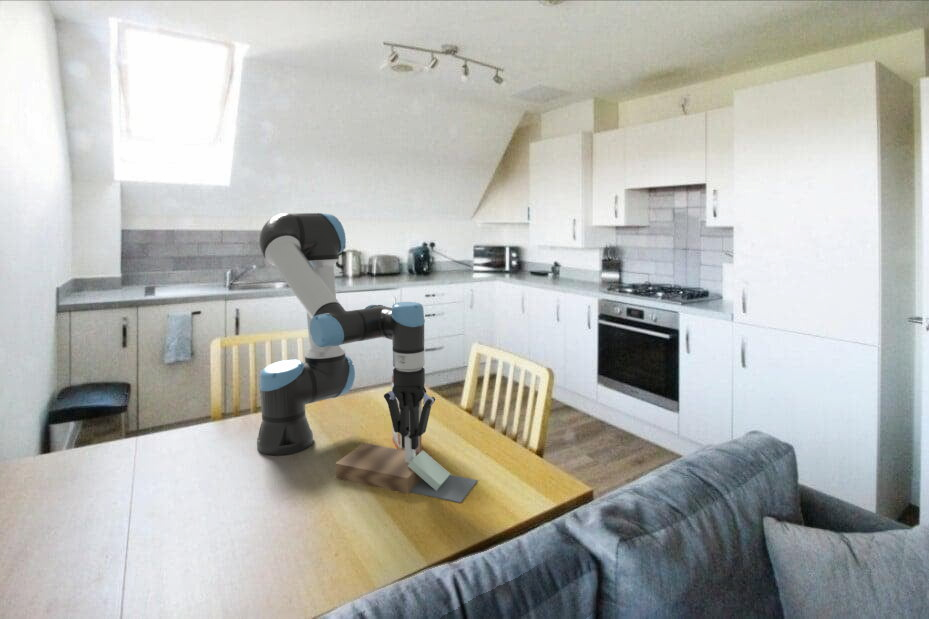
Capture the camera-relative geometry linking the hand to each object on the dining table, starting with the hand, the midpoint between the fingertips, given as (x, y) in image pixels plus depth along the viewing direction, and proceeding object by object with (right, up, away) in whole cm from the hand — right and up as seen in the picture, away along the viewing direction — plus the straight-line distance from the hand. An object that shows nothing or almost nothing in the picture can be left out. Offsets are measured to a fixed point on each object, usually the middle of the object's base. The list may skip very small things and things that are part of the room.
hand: (410, 460), depth 131 cm
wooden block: (-7, -4, +4) cm, 9 cm away
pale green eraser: (+4, -3, -1) cm, 5 cm away
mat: (+8, -6, -2) cm, 10 cm away
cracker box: (-3, -2, +19) cm, 19 cm away
